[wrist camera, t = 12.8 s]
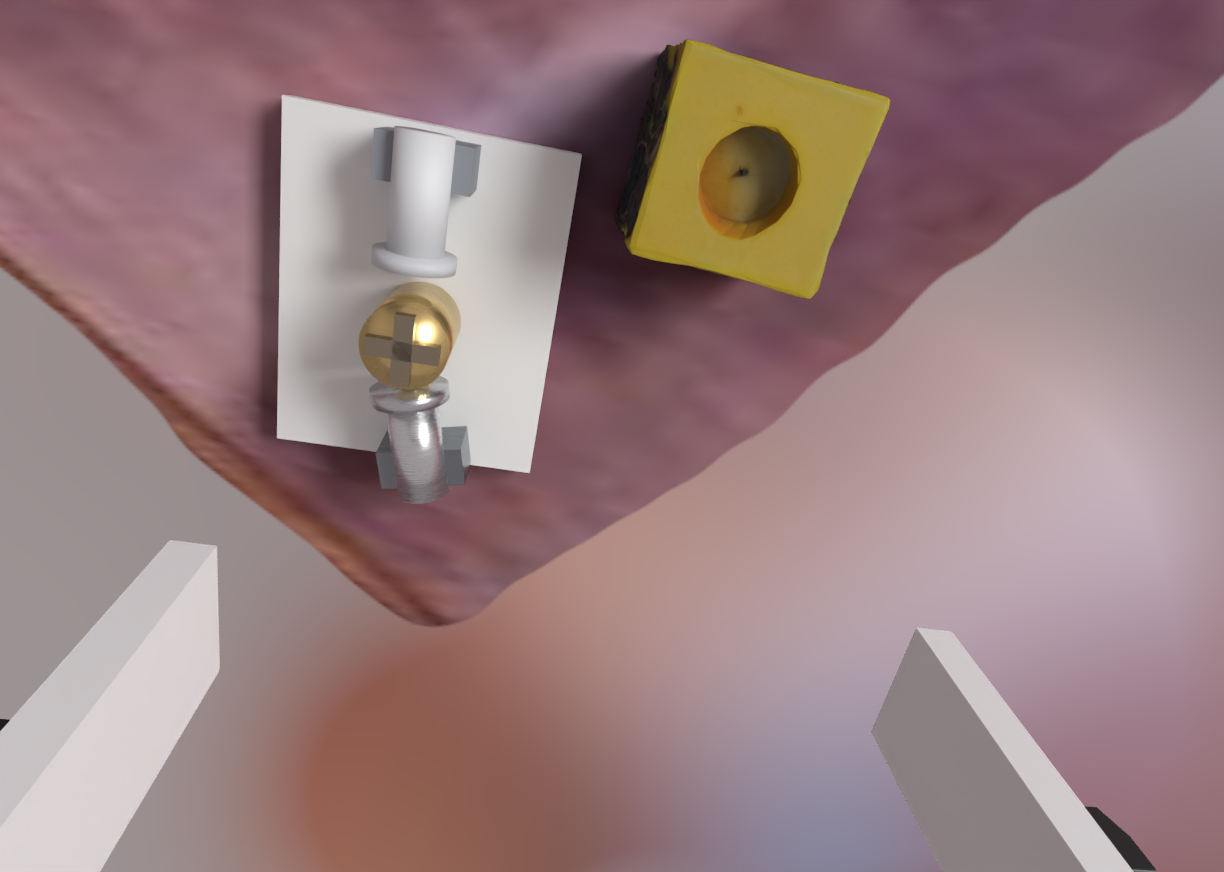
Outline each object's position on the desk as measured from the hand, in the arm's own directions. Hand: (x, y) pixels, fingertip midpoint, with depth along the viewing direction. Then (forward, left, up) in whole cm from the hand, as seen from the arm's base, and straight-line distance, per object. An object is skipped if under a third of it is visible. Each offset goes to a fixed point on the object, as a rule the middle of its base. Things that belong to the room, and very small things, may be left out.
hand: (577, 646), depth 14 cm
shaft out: (+10, -7, -33) cm, 35 cm away
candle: (-8, +8, -35) cm, 37 cm away
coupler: (+4, -8, -33) cm, 34 cm away
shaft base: (+3, -8, -35) cm, 36 cm away
